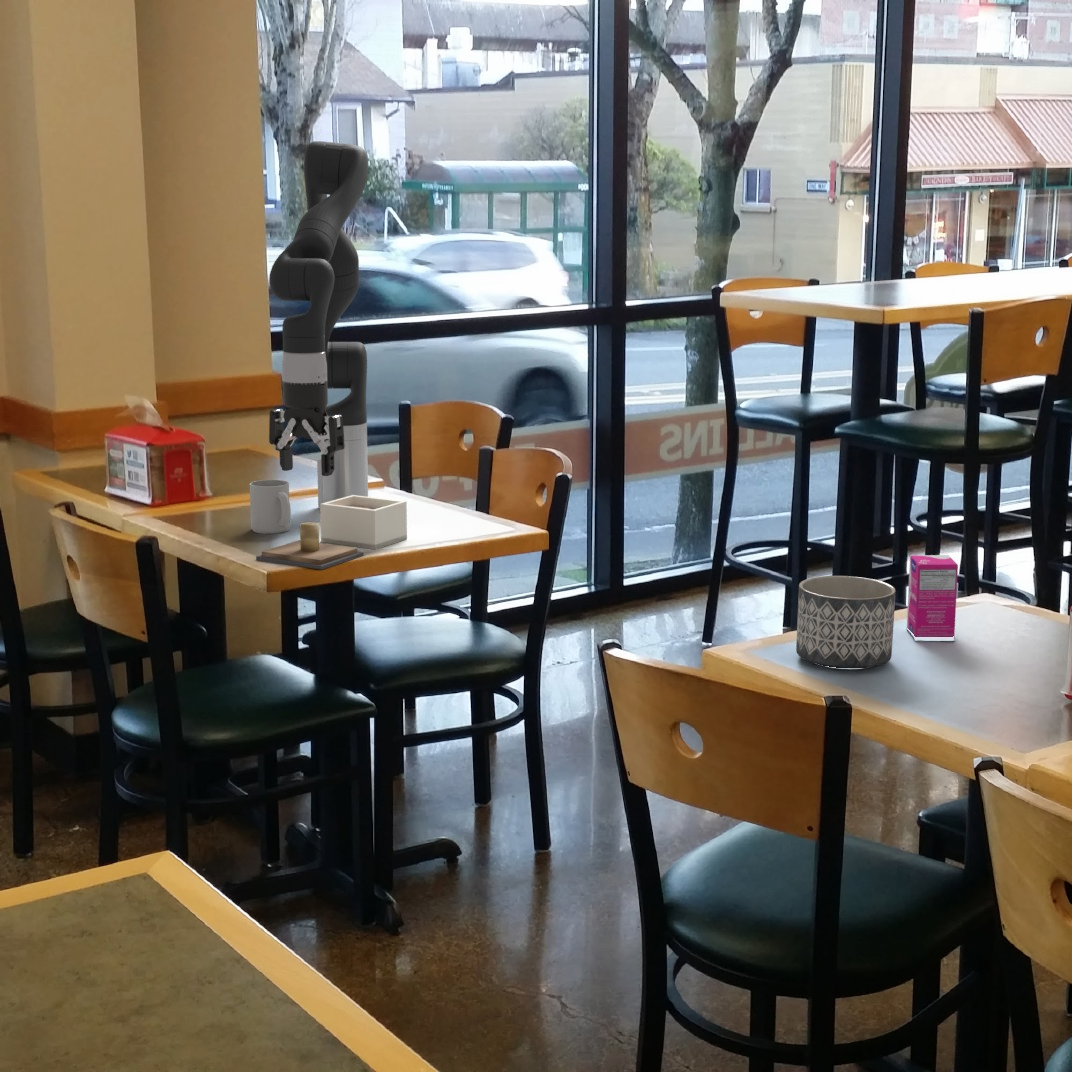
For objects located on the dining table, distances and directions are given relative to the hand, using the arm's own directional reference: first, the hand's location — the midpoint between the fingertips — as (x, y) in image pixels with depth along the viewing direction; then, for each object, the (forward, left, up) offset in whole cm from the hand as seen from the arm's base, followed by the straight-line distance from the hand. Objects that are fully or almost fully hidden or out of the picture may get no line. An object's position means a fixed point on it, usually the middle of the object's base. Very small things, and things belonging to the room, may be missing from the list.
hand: (307, 472), depth 258 cm
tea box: (0, +16, -15) cm, 22 cm away
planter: (+99, -12, -15) cm, 101 cm away
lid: (0, 0, -14) cm, 14 cm away
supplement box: (+106, +6, -15) cm, 107 cm away
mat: (0, 0, -15) cm, 15 cm away
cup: (-19, +14, -15) cm, 28 cm away
